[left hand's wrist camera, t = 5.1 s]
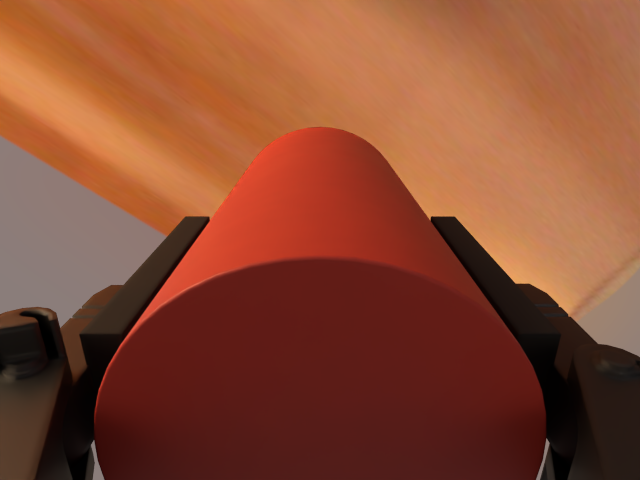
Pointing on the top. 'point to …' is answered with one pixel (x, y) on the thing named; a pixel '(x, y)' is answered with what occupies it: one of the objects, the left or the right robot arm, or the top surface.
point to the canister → (320, 341)
